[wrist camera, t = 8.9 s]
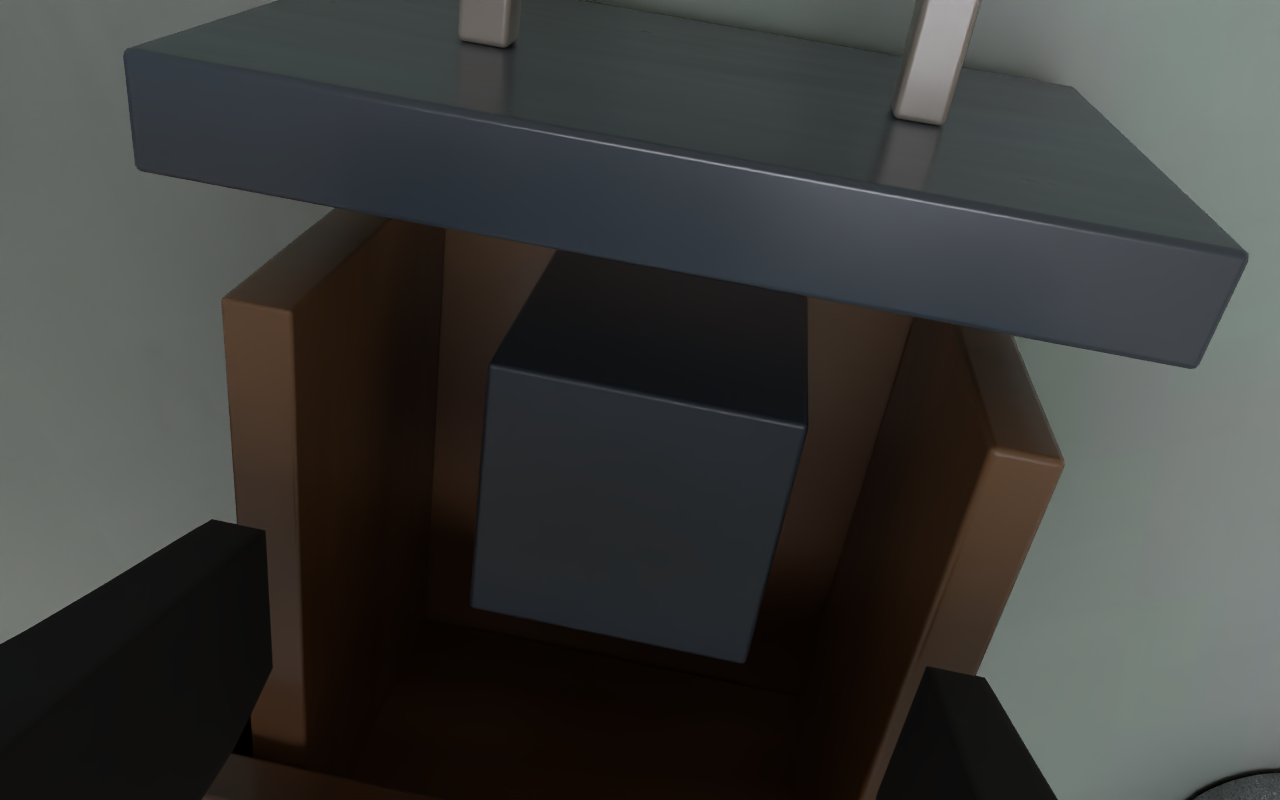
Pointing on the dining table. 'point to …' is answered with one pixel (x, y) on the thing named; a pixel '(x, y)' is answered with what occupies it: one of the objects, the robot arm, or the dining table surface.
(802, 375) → the block
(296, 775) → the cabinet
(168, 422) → the dining table surface
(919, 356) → the drawer
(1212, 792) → the gray cylindrical tube
